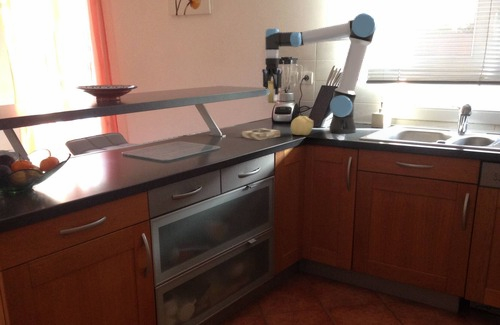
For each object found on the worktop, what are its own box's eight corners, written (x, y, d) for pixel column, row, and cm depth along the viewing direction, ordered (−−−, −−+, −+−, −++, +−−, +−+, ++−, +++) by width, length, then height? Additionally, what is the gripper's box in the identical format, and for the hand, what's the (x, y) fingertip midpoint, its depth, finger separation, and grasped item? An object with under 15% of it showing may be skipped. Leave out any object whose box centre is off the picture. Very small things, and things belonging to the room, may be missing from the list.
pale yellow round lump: (316, 135, 245) (316, 116, 242) (297, 137, 240) (298, 117, 237) (305, 132, 255) (305, 113, 252) (287, 134, 250) (287, 115, 247)
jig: (280, 136, 244) (280, 130, 243) (259, 140, 233) (259, 133, 233) (262, 133, 254) (262, 127, 253) (241, 136, 243) (241, 131, 242)
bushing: (278, 102, 251) (278, 81, 248) (272, 103, 248) (272, 81, 245) (271, 101, 254) (272, 80, 252) (265, 102, 251) (265, 81, 248)
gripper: (288, 57, 242) (288, 100, 247) (265, 57, 254) (265, 98, 259) (279, 57, 237) (278, 101, 242) (256, 57, 249) (256, 99, 254)
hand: (272, 100), depth 251 cm, fingers closed on bushing, 5 cm apart
